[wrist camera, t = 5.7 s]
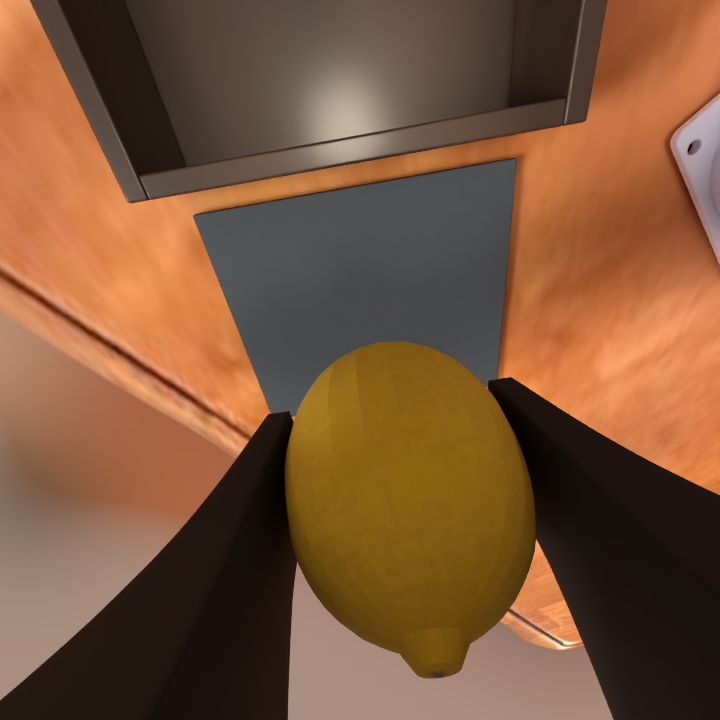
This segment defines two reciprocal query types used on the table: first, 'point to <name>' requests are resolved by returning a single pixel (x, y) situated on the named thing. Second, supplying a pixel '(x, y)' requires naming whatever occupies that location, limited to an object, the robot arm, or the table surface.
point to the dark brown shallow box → (313, 80)
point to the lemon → (409, 502)
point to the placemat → (367, 273)
